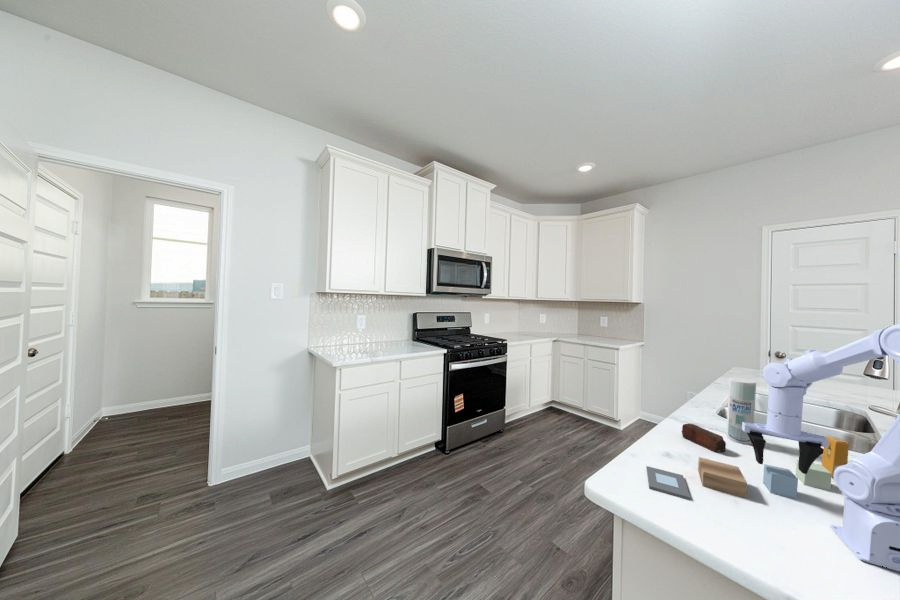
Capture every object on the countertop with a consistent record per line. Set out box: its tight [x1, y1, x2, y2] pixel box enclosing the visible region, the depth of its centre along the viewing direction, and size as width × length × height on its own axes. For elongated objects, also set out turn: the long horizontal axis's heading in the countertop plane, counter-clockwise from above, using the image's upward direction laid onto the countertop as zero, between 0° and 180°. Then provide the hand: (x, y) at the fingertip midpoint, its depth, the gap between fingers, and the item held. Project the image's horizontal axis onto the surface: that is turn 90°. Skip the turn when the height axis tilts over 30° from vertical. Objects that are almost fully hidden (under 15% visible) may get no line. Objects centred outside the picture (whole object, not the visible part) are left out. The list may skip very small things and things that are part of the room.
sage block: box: [795, 459, 832, 492], centre depth 79 cm, size 4×4×4 cm
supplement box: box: [821, 435, 850, 479], centre depth 83 cm, size 3×3×10 cm
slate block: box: [762, 463, 799, 500], centre depth 76 cm, size 4×4×5 cm
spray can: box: [725, 376, 757, 445], centre depth 102 cm, size 6×6×20 cm
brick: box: [681, 423, 727, 454], centre depth 99 cm, size 11×4×5 cm, turn 19°
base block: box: [697, 456, 748, 499], centre depth 78 cm, size 8×8×4 cm
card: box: [646, 465, 691, 501], centre depth 78 cm, size 10×8×1 cm
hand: (780, 466), depth 76 cm, fingers open, 7 cm apart
